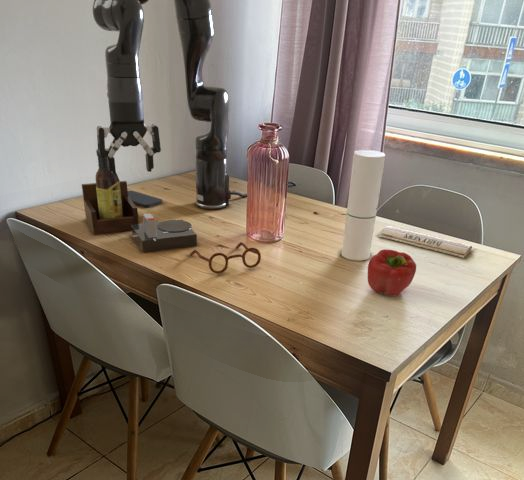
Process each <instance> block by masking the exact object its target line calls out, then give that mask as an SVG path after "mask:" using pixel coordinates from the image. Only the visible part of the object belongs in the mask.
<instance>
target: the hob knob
mask: <svg viewBox="0 0 524 480" xmlns="http://www.w3.org/2000/svg"><path fill="white" fill-rule="evenodd" d="M156 222H157V219H156V218H155V217H154V216H153V214H152V213H144V214H142V224H144V232H145V233H146V235H147V236H148V237H149V238H155V237H157V231H156Z"/></svg>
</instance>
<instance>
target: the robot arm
mask: <svg viewBox="0 0 524 480" xmlns="http://www.w3.org/2000/svg"><path fill="white" fill-rule="evenodd" d="M149 1H150V0H93V2H92V17H93V20H94V22H95V23H96V25H97V26H98V27H99V28H100V29H102V30H104V31H107V32H115V33H116V32H117V33H118V38H117V42H116V43H114V44H111V45H108V46H106V48H105V52H104V57H105V68H106V75H107V77H106V78H107V80H106V90H107V93H106V95H107V99H108V100H107V101H108V110H109V119H110V123H109V124H110V125H109V126H108V127H103V126H101V125H98V126H96V138H97V149H98V152H99V153H100V154H101V155H104V156H106V157H107V163H108V169H109V171H110V172H112V174H116V173H117V170H116V161H115V157H114V156H115V154H116V153H117V151H119V149H120V148H121V147H125V148H126V147H130V146H131V147H138V146H139V145H140V147H142V149H143V150H144V151H145V152H146V153H145V167H146V168H145V169H146V171H147V172H152V170H154V166H155V163H154V156H155V154H159V153H161V152H162V151H161V150H162V149H161V140H160V130H159V129H160V128H159V127H158V126H157V125H156V124H155V123H152V124H151V125H146V124H145V116H144V115H145V114H144V102H143V88H142V82H141V81H142V80H141V77H140V75H141V73H140V62H139V61H140V60H139V55H140V54H139V53H140V48H141V44H142V43H141V42H142V36H143V30H144V23H145V13H144V9H143V6H142V5H144V4H146V3H148V2H149ZM173 6H174V12H175V13H174V14H175V19H176V25H177V32H178V36H179V42H180V48H181V54H182V61H183V69H184V78H185V79H184V80H185V90H186V93H185V94H186V101H187V103H186V104H187V109H188V112H189V115H190V117H191V118H192V119H193V120H195V121H199V122H205V123H210V128H209V130H208V131H207V132H204V133H200V134H198V135H196V136H195V138H194V157H195V158H194V159H195V160H194V161H195V162H194V163H195V205H196V206H197V208H201V209H204V210H220V209H224V208H226V207H230V200H231V199H232V195H234V196H238V197H241V198H247V197H248V196H247V193H241V192H238V191H231V190H230V175H229V174H228V173H227V172H228V170H227V169H228V168H227V162H228V156H227V155H228V153H227V152H228V151H227V150H228V140H229V139H228V138H229V127H230V126H229V125H230V110H231V109H230V107H231V103H230V95H229V93H228V91H227V89H226V88H224V87H220V86H210V85H205V83H204V82H205V81H204V73H203V71H204V70H203V69H204V63H205V60H206V58H207V55H208V53H209V51H210V48H211V46H212V43H213V40H214V37H215V23H214V16H213V8H212V3H211V0H173ZM147 132H148V134H149V135H150V136H151V140H152V147H150V145H149V144H148V143H147V142H146V141H145V139H144V137H145V136H146V134H147ZM108 134H110V135H111V136H112V137H113V139H112V141H111V142H110V144H109V147H108V150H105V148H106V141H105V139H106V138H107V137H108ZM287 181H288V184H287V185H293V186H295V187H297V183H296V182H295V181H293V180H287Z"/></svg>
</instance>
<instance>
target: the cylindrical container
mask: <svg viewBox="0 0 524 480" xmlns="http://www.w3.org/2000/svg"><path fill="white" fill-rule="evenodd" d="M385 159H386V153H385V152H382V151H379V150H373V149H358V150H354V152H353V158H352V166H351V175H350V183H349V191H348V198H347V207H346V213H345V214H346V215H345V223H344V231H343V232H344V233H343V238H342V246H341V256H342V257H343V258H345V259H347V260H349V261H350V260H351V261H366V260H369V259H370V258H371V250H372V244H373V238H374V237H373V236H374V232H375V231H374V230H375V224H376V218H377V212H378V205H379V199H380V192H381V187H382V179H383V172H384V166H385Z"/></svg>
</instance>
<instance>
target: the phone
mask: <svg viewBox="0 0 524 480" xmlns="http://www.w3.org/2000/svg"><path fill="white" fill-rule="evenodd" d="M127 191H128V197H129V198H130V199H131V201H132V202H133V203H134V204H135V205H136V206H140V207H143V208H149V207H152V206H156V205H159V204H162V203H163V199H162V198H159V197H155V196H151V195H149V194H145V193H141V192H138V191H134V190H127Z"/></svg>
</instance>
